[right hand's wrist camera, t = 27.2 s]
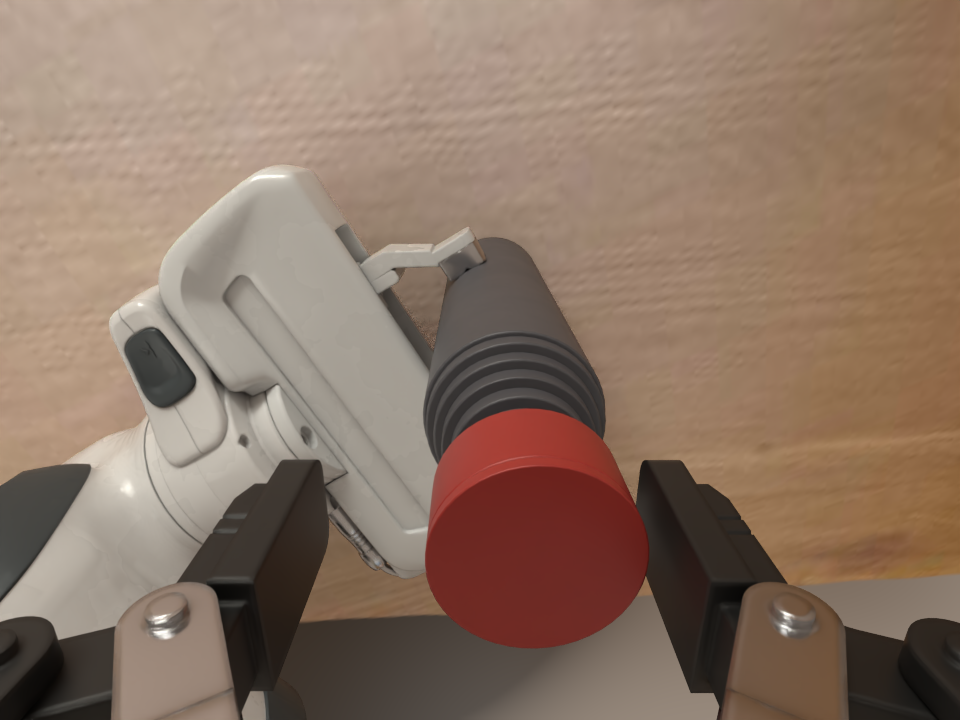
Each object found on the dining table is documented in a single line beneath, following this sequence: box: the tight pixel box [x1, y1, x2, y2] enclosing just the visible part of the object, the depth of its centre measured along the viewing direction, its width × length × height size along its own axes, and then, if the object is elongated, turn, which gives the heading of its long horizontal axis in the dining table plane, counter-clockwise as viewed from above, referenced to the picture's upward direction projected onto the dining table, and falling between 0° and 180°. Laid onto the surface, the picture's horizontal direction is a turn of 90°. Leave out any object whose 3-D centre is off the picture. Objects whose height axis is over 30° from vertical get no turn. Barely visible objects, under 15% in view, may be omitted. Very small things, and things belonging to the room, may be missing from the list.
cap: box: [425, 409, 649, 648], centre depth 11 cm, size 4×4×2 cm
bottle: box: [423, 238, 606, 464], centre depth 21 cm, size 5×5×22 cm
